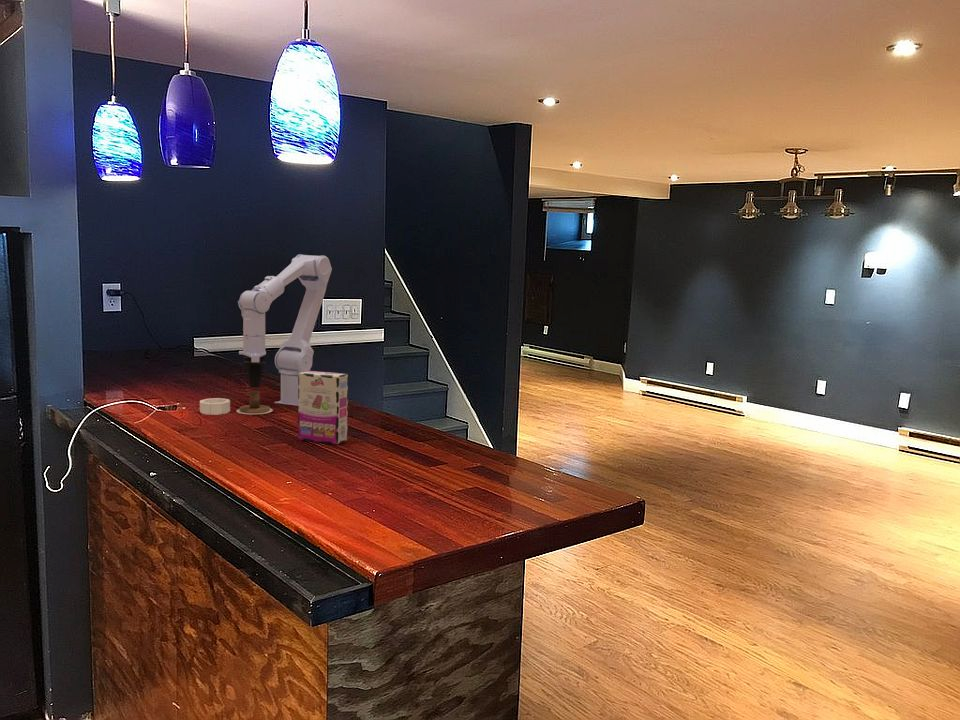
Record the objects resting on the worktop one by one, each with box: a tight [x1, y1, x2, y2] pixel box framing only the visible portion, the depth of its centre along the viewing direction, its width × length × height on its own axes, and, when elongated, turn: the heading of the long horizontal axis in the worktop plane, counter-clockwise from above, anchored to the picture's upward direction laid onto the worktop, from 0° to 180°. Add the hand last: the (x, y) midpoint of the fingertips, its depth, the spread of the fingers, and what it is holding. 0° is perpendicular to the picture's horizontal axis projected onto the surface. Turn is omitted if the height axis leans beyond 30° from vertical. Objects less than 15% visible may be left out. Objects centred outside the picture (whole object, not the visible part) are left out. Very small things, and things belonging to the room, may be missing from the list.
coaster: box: [236, 407, 274, 415], centre depth 213 cm, size 10×10×1 cm
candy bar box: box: [297, 370, 349, 445], centre depth 186 cm, size 11×5×16 cm, turn 70°
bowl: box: [199, 397, 231, 416], centre depth 210 cm, size 8×8×4 cm
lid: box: [238, 390, 271, 415], centre depth 213 cm, size 8×8×5 cm
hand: (254, 384), depth 212 cm, fingers open, 7 cm apart
